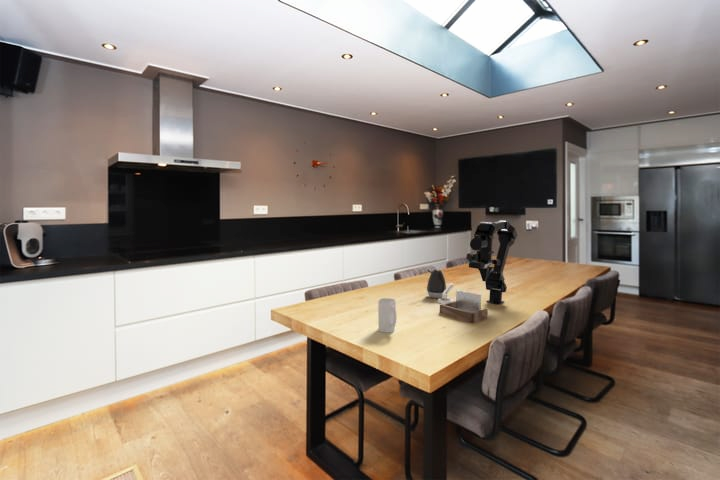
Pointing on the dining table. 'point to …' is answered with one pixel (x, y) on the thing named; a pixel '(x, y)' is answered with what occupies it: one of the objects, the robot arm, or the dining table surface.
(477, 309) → the bracket
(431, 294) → the pump dispenser
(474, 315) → the bay
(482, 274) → the robot arm
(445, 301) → the hook
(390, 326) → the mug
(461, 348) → the dining table surface
